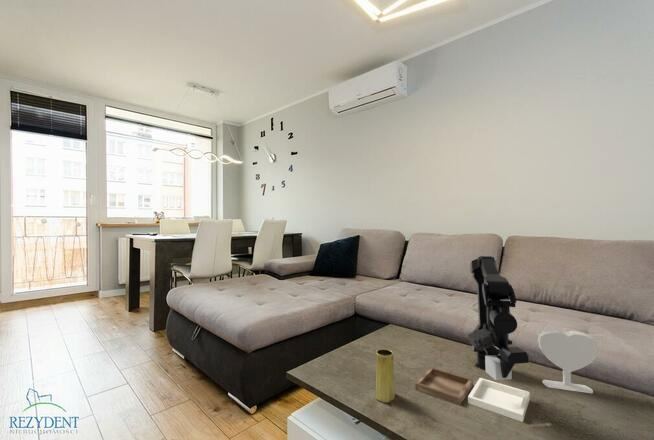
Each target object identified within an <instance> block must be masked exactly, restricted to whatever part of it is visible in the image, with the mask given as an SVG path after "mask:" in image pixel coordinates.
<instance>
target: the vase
mask: <svg viewBox="0 0 654 440" xmlns="http://www.w3.org/2000/svg"><path fill="white" fill-rule="evenodd" d="M375 360H376V363H375V364H376V366H375V367H376V370H375V372H376V373H375V374H376V375H375V377H376V379H375V380H376V381H375V398H376V399H377V400H378V401H380V402H381V403H386V404H387V403H391V401H393V400H395V399H396V392H395V391H396V390H395V377H394V376H395V373H394V372H395V371H394V352H393V351H392V350H390V349H387V348H380V349H377V350H376V351H375Z"/></svg>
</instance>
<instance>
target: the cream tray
mask: <svg viewBox="0 0 654 440" xmlns="http://www.w3.org/2000/svg"><path fill="white" fill-rule="evenodd" d="M530 393H531V392H530V391H527V390H524V389H521V388H518V387H517V388H516V387H514V386H510V385H507V384H504V383H500V382H496V381H492V380H489V379H486V378H483V377H479V378H478V380H477V381H476V383H475V384H474V385H473V388H471V390H470V393H468V395H467V404H469V405H472V406H475V407H478V408H480V409H484V410H486V411H488V412H489V411H490V412H492V413H495V414H497V415H498V414H499V415H500V416H504V417H507V418H510V419H512V420H515V421H518V422H521V423H523V422H524V420H525V417H526V412H527V409H528V406H529V403H530V396H531V395H530Z"/></svg>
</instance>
